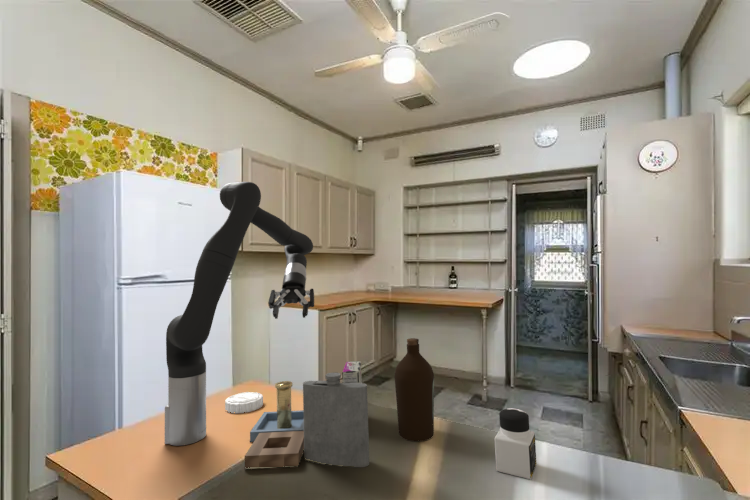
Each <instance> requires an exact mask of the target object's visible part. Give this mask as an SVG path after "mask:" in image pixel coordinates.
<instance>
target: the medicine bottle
mask: <svg viewBox="0 0 750 500" xmlns="http://www.w3.org/2000/svg"><path fill="white" fill-rule="evenodd" d="M498 417H499V430H498V432H497V433H496V435H495V436H494V451H495V470H496V472H500V473H503V474H508V475H512V476H515V477H519V478H523V479H527V480H532V478H533V475H534V472H535V469H536V466H537V465H538V464H537V463H538V462H537V449H536V432H535V431H534V430H530V417H529V414H528V413H527V412H526V411H524V410H522V409H518V408H512V407H509V408H508V407H507V408H504V409H502V410H500V411H499V416H498Z"/></svg>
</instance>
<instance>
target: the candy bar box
mask: <svg viewBox="0 0 750 500" xmlns="http://www.w3.org/2000/svg"><path fill="white" fill-rule="evenodd" d="M362 378H363V377H362V361H359V360H358V361H345V364H344V367H343V369H342V371H341V380H342V383H363V380H362Z"/></svg>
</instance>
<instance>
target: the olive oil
mask: <svg viewBox="0 0 750 500" xmlns="http://www.w3.org/2000/svg"><path fill="white" fill-rule="evenodd" d="M419 340H420V339H419V338H415V337H413V338H411V337H410V338H407V339H406V343H407V344H406V353H405V356H403V358H402V359H401V360H400V361H399V362H398V363H397V365H396V367H395V371H394V387H395V388H394V389H395V398H396V413H397V425H398V427H397V428H398V435H399V437H400V438H402V439H403V440H406V441H410V442H424V441H428V440H431V439H432V438H433V437H434V435H435V417H434V416H435V413H434V412H435V410H434V409H435V373H434V369H433V367H432V365H431V364H430V363H429V362H428V361H427V359H426V358H424V356H423V355H422V354H421V353H420V344H419V342H420V341H419Z"/></svg>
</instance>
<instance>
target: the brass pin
mask: <svg viewBox="0 0 750 500" xmlns="http://www.w3.org/2000/svg"><path fill="white" fill-rule="evenodd" d="M274 385H275V386H274V388H275V389H276V412H277V429H287V428H291V427H292V413H291V411H292V387H293V381H291V380H290V381H289V380H284V381H279V382H276V383H274Z"/></svg>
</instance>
